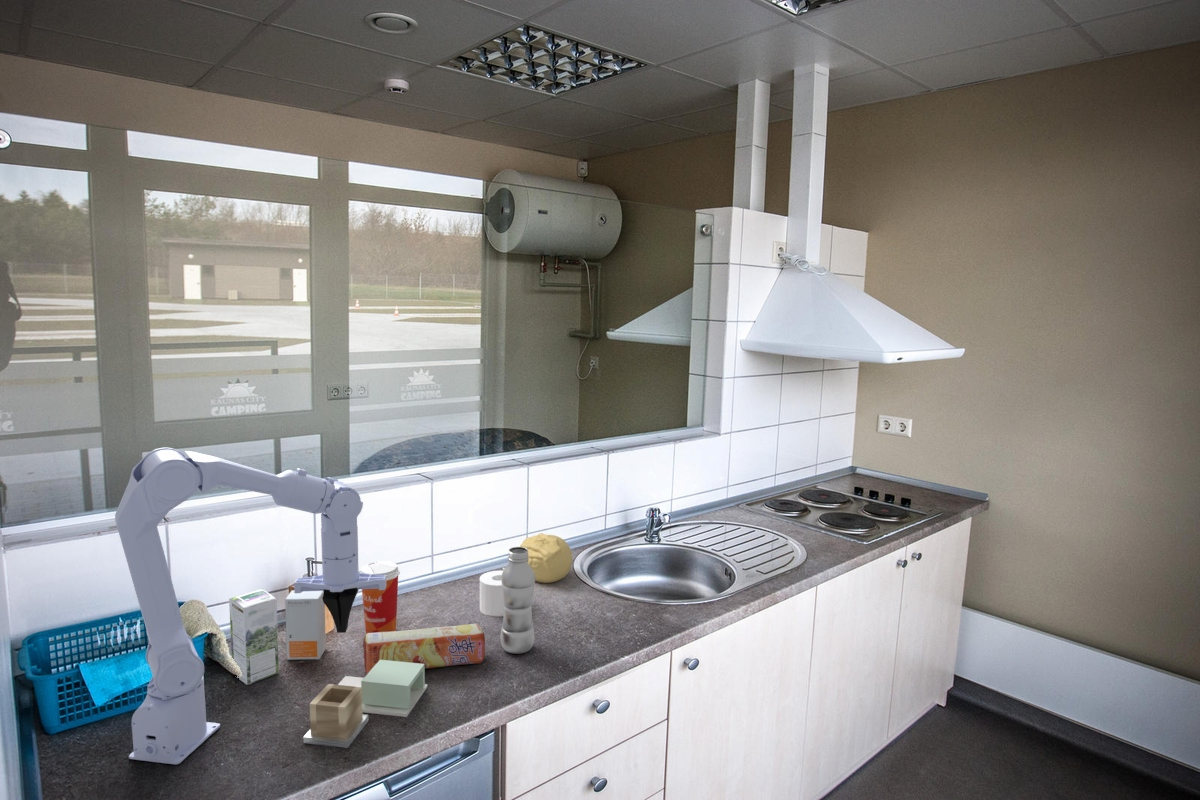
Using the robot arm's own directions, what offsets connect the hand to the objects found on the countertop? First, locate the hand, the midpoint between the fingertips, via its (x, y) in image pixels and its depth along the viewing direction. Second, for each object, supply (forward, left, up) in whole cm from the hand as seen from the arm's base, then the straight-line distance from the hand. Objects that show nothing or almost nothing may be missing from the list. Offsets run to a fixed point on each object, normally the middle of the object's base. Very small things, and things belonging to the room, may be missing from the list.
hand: (342, 630), depth 122 cm
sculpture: (+54, -24, -11) cm, 60 cm away
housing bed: (-2, -6, -10) cm, 12 cm away
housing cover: (-2, -10, -10) cm, 14 cm away
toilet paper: (+37, -18, -11) cm, 42 cm away
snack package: (+9, -11, -10) cm, 18 cm away
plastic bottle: (+18, -26, -11) cm, 33 cm away
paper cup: (+19, +2, -11) cm, 22 cm away
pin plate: (-12, -5, -10) cm, 17 cm away
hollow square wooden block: (-12, -5, -9) cm, 16 cm away
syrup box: (+1, +17, -11) cm, 20 cm away
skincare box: (+9, +12, -11) cm, 18 cm away
